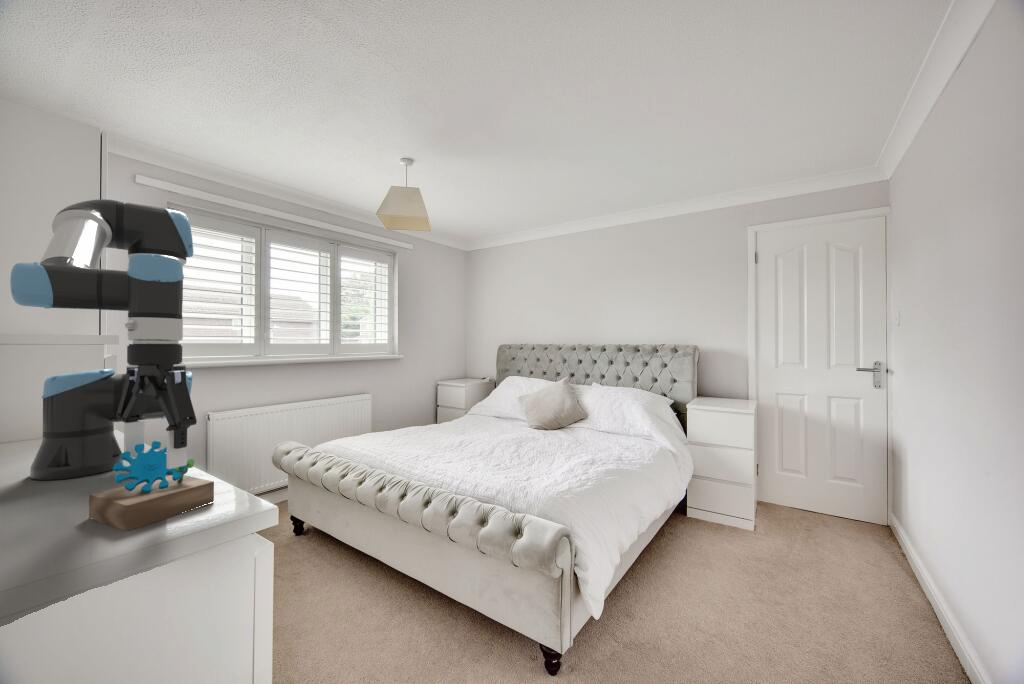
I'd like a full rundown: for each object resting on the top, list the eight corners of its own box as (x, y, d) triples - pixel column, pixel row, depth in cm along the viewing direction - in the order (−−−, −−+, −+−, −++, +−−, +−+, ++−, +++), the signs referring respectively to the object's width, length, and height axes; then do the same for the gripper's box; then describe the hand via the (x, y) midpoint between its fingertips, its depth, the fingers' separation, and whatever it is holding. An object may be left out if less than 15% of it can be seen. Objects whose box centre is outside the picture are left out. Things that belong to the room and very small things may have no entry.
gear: (105, 490, 69) (120, 438, 75) (105, 509, 72) (119, 457, 78) (190, 486, 75) (197, 439, 81) (186, 503, 78) (194, 456, 84)
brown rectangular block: (88, 518, 72) (89, 494, 72) (176, 493, 83) (176, 473, 83) (126, 531, 67) (126, 505, 67) (213, 503, 78) (213, 481, 79)
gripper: (93, 342, 77) (91, 458, 77) (171, 343, 67) (170, 477, 67) (142, 342, 84) (141, 449, 84) (221, 343, 74) (220, 465, 74)
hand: (154, 462), depth 75 cm, fingers open, 13 cm apart
